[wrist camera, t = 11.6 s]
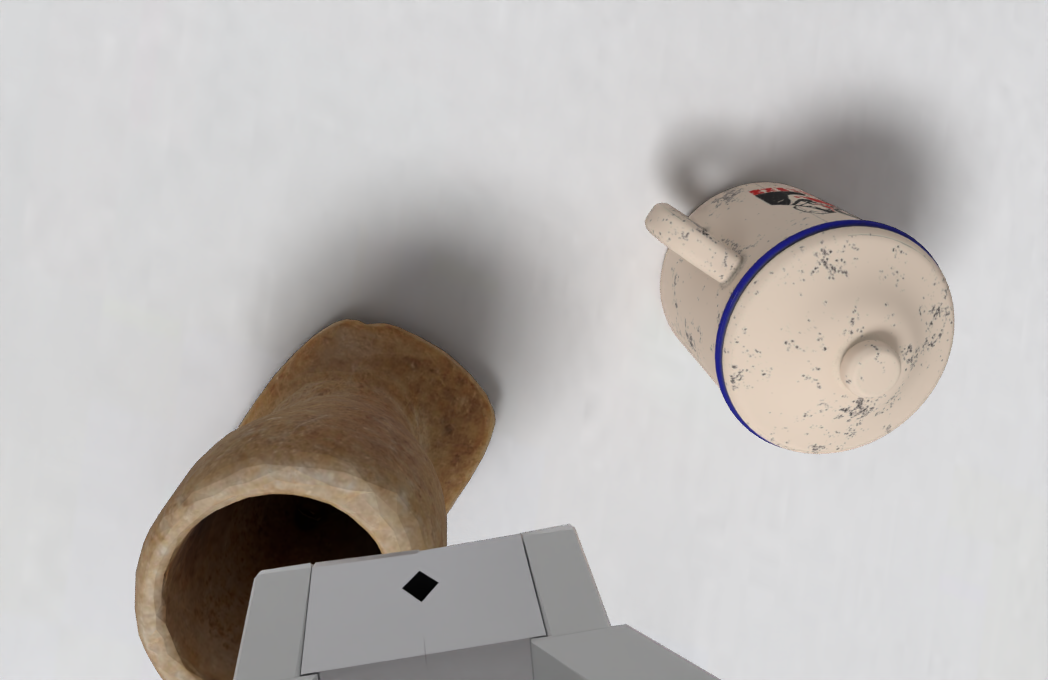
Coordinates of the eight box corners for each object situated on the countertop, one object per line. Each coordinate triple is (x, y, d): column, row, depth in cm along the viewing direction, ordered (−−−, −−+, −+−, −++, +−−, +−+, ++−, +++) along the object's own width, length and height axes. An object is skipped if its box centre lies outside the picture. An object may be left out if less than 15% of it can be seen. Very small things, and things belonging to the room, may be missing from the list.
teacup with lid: (885, 243, 43) (1056, 331, 32) (763, 400, 45) (885, 533, 34) (683, 95, 39) (800, 138, 28) (560, 274, 41) (625, 378, 30)
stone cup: (299, 249, 39) (256, 396, 25) (524, 394, 43) (595, 591, 29) (113, 517, 42) (-18, 781, 28) (338, 630, 46) (322, 911, 32)
